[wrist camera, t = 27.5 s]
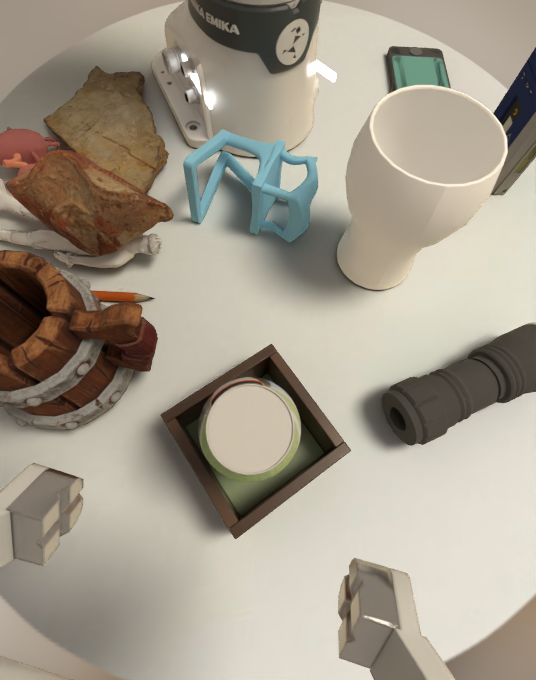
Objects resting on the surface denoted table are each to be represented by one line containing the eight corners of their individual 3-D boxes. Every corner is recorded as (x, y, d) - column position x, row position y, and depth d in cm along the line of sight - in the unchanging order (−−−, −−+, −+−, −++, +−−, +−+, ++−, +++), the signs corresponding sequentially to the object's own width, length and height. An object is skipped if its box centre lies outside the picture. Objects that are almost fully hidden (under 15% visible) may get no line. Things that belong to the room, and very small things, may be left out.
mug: (16, 300, 36) (-81, 187, 23) (171, 321, 39) (167, 231, 25) (-27, 425, 32) (-177, 378, 18) (151, 440, 35) (134, 409, 21)
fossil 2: (-16, 172, 33) (94, 177, 41) (14, 270, 35) (114, 258, 42) (47, 120, 25) (170, 138, 33) (82, 251, 27) (190, 240, 34)
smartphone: (442, 47, 52) (461, 128, 46) (437, 57, 53) (456, 137, 47) (387, 44, 52) (400, 125, 46) (384, 54, 53) (396, 134, 47)
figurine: (-7, 174, 38) (169, 199, 36) (19, 201, 41) (180, 225, 40) (-39, 236, 36) (147, 266, 34) (-8, 259, 39) (161, 287, 38)
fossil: (117, 53, 49) (121, 66, 50) (21, 101, 45) (29, 114, 46) (229, 142, 43) (230, 154, 44) (129, 206, 39) (134, 217, 40)
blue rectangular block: (471, 146, 47) (540, 38, 36) (490, 146, 47) (564, 39, 36) (484, 194, 44) (563, 94, 33) (504, 195, 44) (589, 94, 33)
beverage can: (273, 387, 34) (285, 336, 23) (298, 472, 32) (324, 461, 20) (203, 405, 33) (179, 362, 22) (222, 494, 31) (206, 495, 20)
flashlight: (400, 455, 33) (426, 448, 28) (369, 398, 35) (388, 382, 30) (541, 386, 36) (588, 368, 31) (506, 336, 38) (545, 312, 33)
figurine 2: (43, 146, 46) (-25, 150, 41) (42, 117, 44) (-30, 117, 39) (103, 207, 43) (38, 219, 38) (106, 180, 41) (37, 188, 36)
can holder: (172, 425, 33) (160, 414, 29) (268, 362, 36) (271, 343, 31) (237, 532, 30) (235, 539, 26) (337, 456, 33) (351, 450, 28)
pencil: (-44, 295, 37) (-40, 287, 37) (155, 304, 37) (156, 296, 38) (-50, 290, 36) (-47, 282, 36) (153, 300, 37) (154, 292, 37)
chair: (223, 171, 44) (322, 205, 43) (191, 222, 41) (297, 261, 40) (221, 106, 37) (338, 145, 36) (182, 162, 34) (310, 207, 33)
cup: (431, 232, 42) (523, 101, 28) (414, 316, 38) (509, 213, 24) (337, 204, 43) (379, 63, 29) (310, 284, 39) (343, 167, 25)
